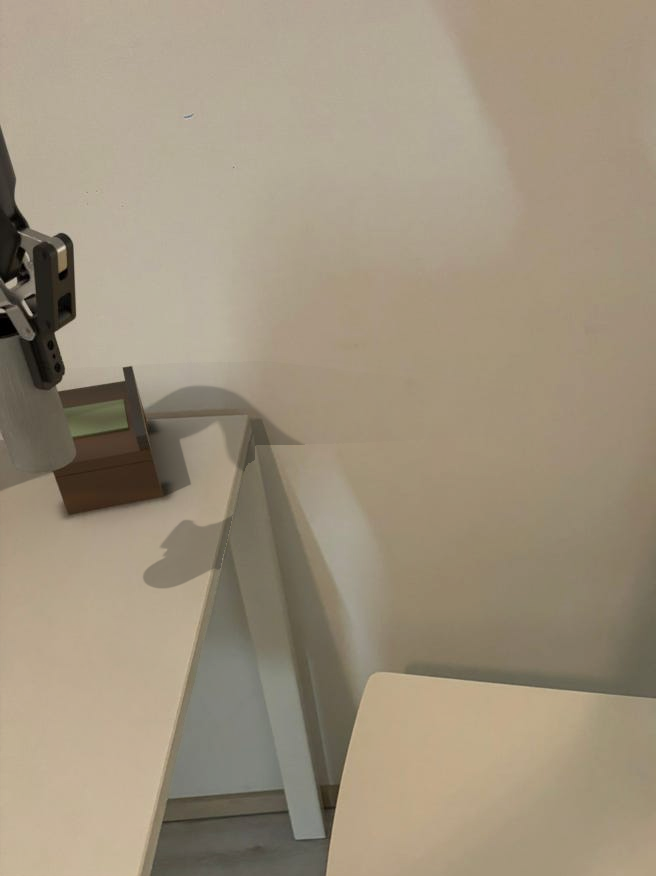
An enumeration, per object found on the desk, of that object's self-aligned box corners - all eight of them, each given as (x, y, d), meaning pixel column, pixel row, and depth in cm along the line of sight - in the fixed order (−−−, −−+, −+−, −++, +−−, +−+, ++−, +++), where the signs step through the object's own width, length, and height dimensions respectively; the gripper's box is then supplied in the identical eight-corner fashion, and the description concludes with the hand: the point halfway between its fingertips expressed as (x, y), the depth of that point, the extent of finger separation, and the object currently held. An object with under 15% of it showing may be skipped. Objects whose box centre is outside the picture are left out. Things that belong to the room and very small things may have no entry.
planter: (3, 456, 70) (-47, 323, 63) (62, 437, 72) (20, 306, 66) (27, 481, 68) (-23, 344, 61) (87, 460, 70) (45, 326, 63)
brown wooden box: (64, 443, 102) (42, 379, 97) (148, 429, 104) (132, 365, 100) (70, 520, 91) (45, 452, 86) (164, 502, 93) (146, 434, 88)
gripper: (69, 102, 56) (137, 370, 67) (-130, 86, 59) (-33, 346, 70) (-13, 132, 50) (76, 419, 62) (-228, 113, 53) (-106, 391, 65)
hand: (17, 379), depth 66 cm, fingers closed on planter, 4 cm apart
